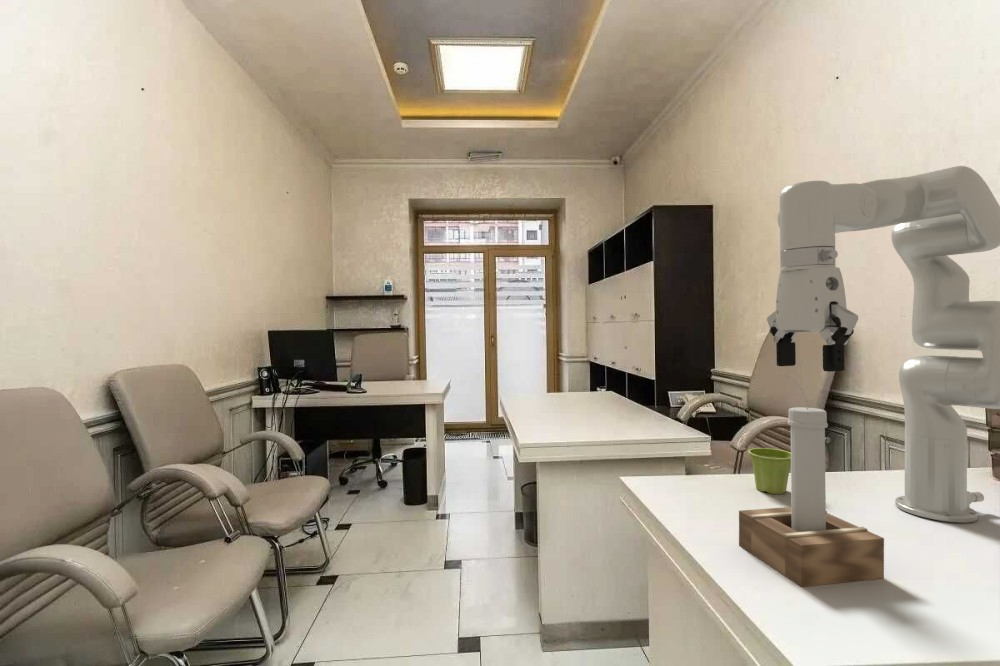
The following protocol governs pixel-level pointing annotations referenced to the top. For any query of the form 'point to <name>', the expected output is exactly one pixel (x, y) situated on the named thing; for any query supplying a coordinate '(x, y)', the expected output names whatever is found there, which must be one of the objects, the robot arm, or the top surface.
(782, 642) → the top surface
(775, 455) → the plant pot
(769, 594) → the top surface
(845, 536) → the socket block
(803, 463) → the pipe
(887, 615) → the top surface
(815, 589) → the top surface
